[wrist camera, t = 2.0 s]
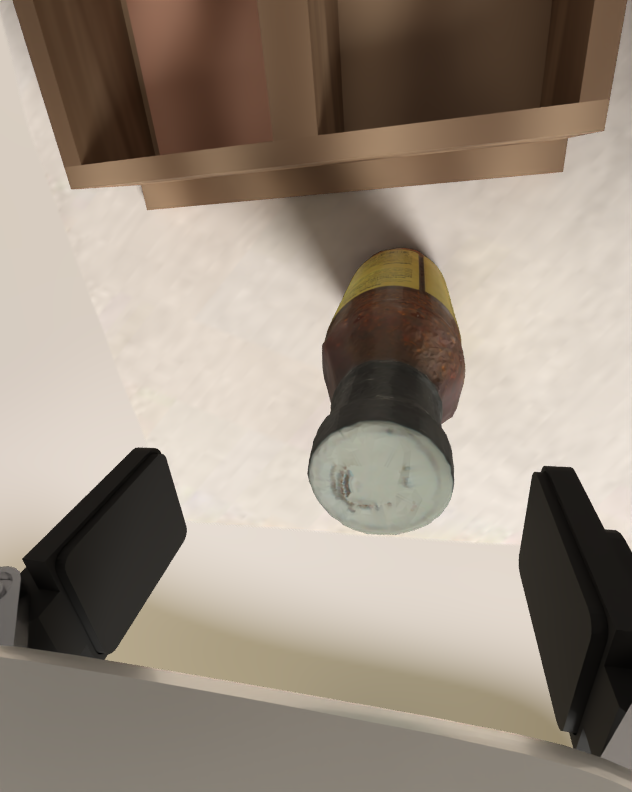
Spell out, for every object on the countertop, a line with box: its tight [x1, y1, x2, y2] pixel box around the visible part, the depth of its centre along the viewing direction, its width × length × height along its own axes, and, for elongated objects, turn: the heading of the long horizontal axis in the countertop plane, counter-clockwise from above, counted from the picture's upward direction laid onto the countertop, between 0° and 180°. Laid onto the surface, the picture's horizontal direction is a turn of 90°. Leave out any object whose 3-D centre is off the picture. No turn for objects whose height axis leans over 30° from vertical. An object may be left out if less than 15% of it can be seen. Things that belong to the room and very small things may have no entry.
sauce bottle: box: [308, 248, 465, 535], centre depth 20 cm, size 6×6×20 cm
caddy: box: [13, 0, 627, 210], centre depth 20 cm, size 25×15×8 cm, turn 95°
